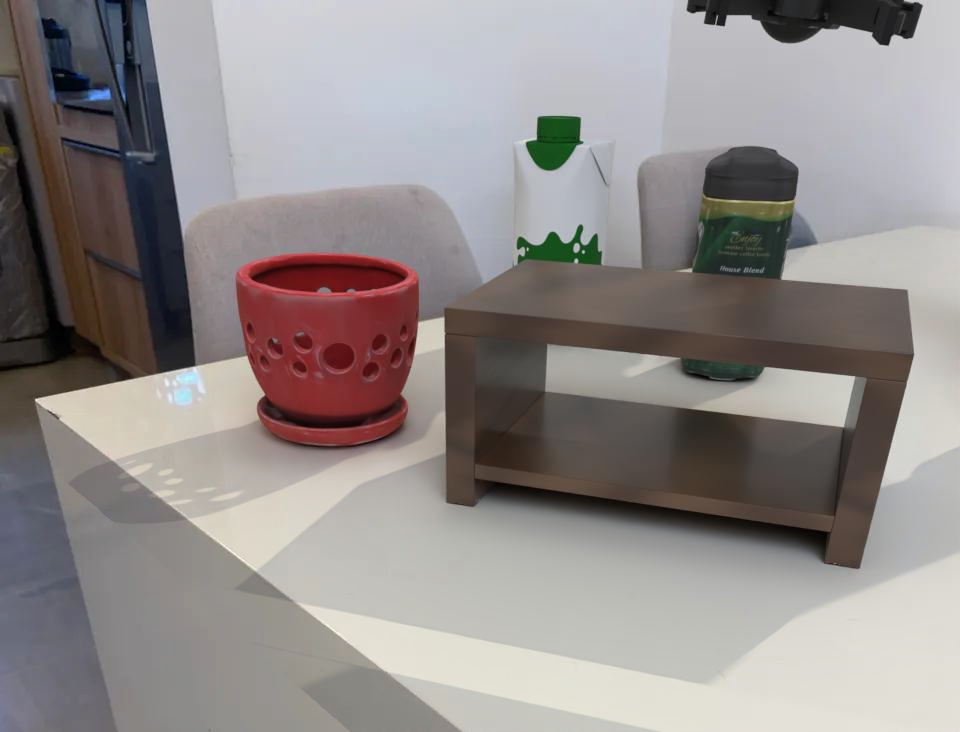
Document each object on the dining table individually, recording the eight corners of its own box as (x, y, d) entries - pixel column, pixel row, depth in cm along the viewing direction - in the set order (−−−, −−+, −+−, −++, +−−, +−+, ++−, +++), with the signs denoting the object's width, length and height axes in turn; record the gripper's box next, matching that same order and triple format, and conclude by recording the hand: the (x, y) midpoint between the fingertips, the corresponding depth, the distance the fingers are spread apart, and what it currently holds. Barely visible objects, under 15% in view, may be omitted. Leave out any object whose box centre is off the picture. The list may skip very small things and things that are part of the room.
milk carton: (500, 339, 97) (504, 116, 86) (533, 319, 104) (541, 111, 93) (581, 349, 94) (596, 120, 83) (609, 328, 101) (626, 114, 90)
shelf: (863, 470, 68) (907, 289, 61) (859, 568, 55) (914, 353, 48) (519, 425, 75) (525, 258, 68) (445, 502, 62) (443, 307, 56)
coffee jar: (768, 386, 84) (809, 154, 74) (678, 380, 86) (706, 150, 76) (762, 356, 92) (799, 143, 82) (680, 351, 94) (707, 140, 84)
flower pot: (228, 454, 69) (204, 283, 63) (284, 398, 80) (268, 247, 74) (403, 465, 68) (397, 291, 61) (435, 406, 79) (433, 254, 72)
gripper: (909, 54, 95) (943, 86, 79) (664, 25, 98) (648, 50, 82) (938, -37, 91) (980, -22, 74) (680, -65, 94) (665, -56, 77)
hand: (806, 16), depth 78 cm, fingers open, 13 cm apart
